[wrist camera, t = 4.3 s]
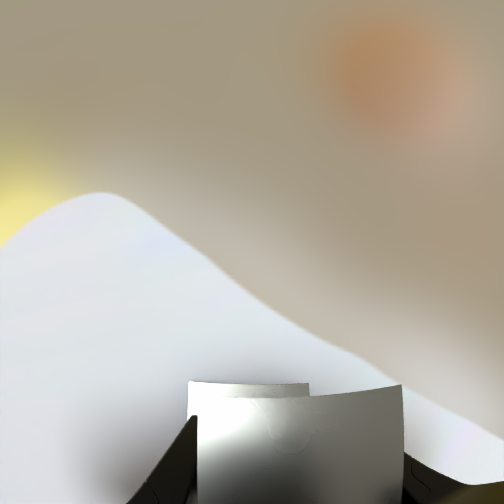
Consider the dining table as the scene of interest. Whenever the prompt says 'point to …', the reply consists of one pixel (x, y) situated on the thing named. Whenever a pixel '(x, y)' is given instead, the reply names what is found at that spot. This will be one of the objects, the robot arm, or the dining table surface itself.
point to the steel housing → (297, 444)
